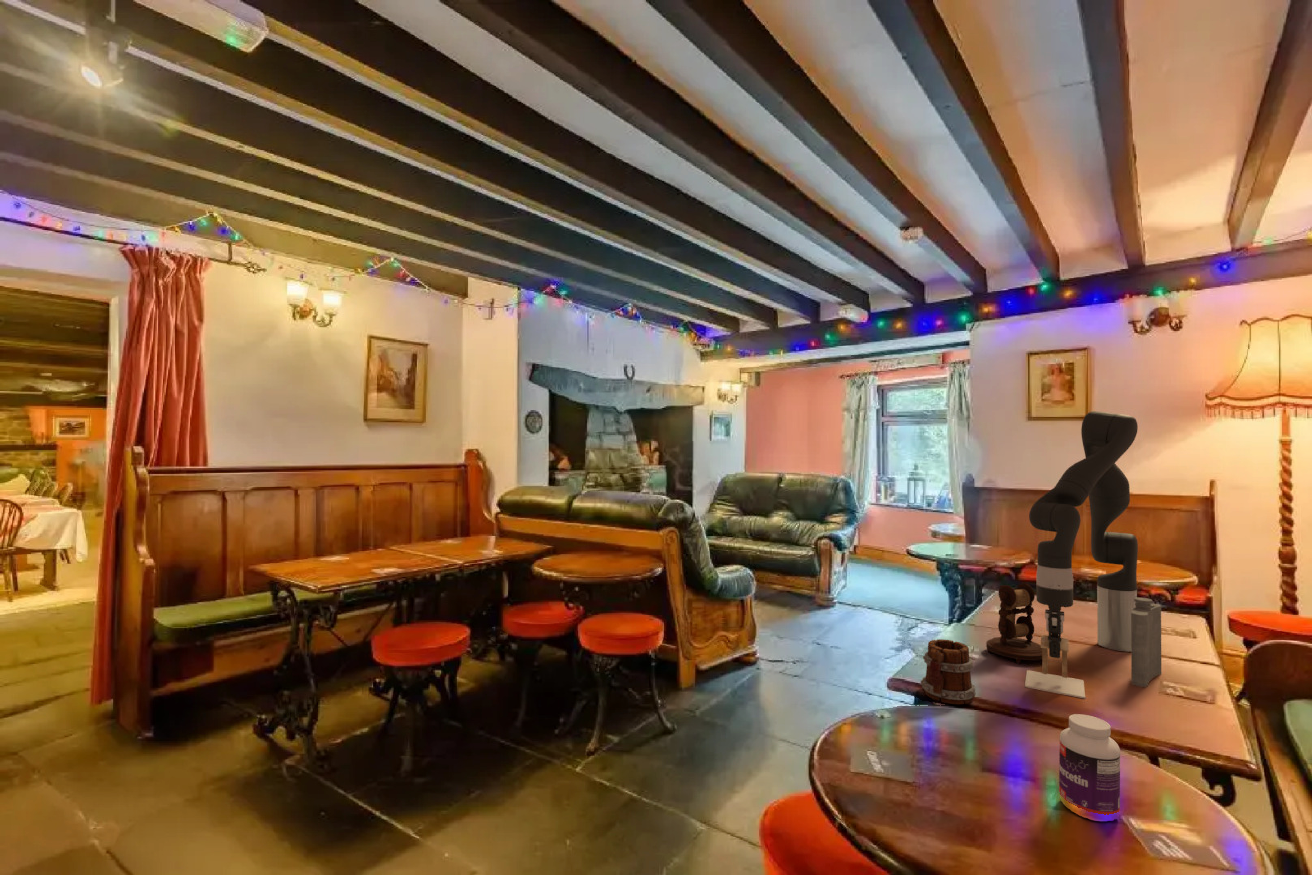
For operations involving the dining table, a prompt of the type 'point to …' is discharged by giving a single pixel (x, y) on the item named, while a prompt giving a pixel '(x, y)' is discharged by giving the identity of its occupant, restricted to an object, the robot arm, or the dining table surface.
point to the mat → (1055, 684)
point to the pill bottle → (1089, 765)
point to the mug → (948, 672)
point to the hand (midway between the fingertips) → (1054, 653)
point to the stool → (1045, 646)
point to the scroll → (1015, 625)
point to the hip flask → (1145, 641)
